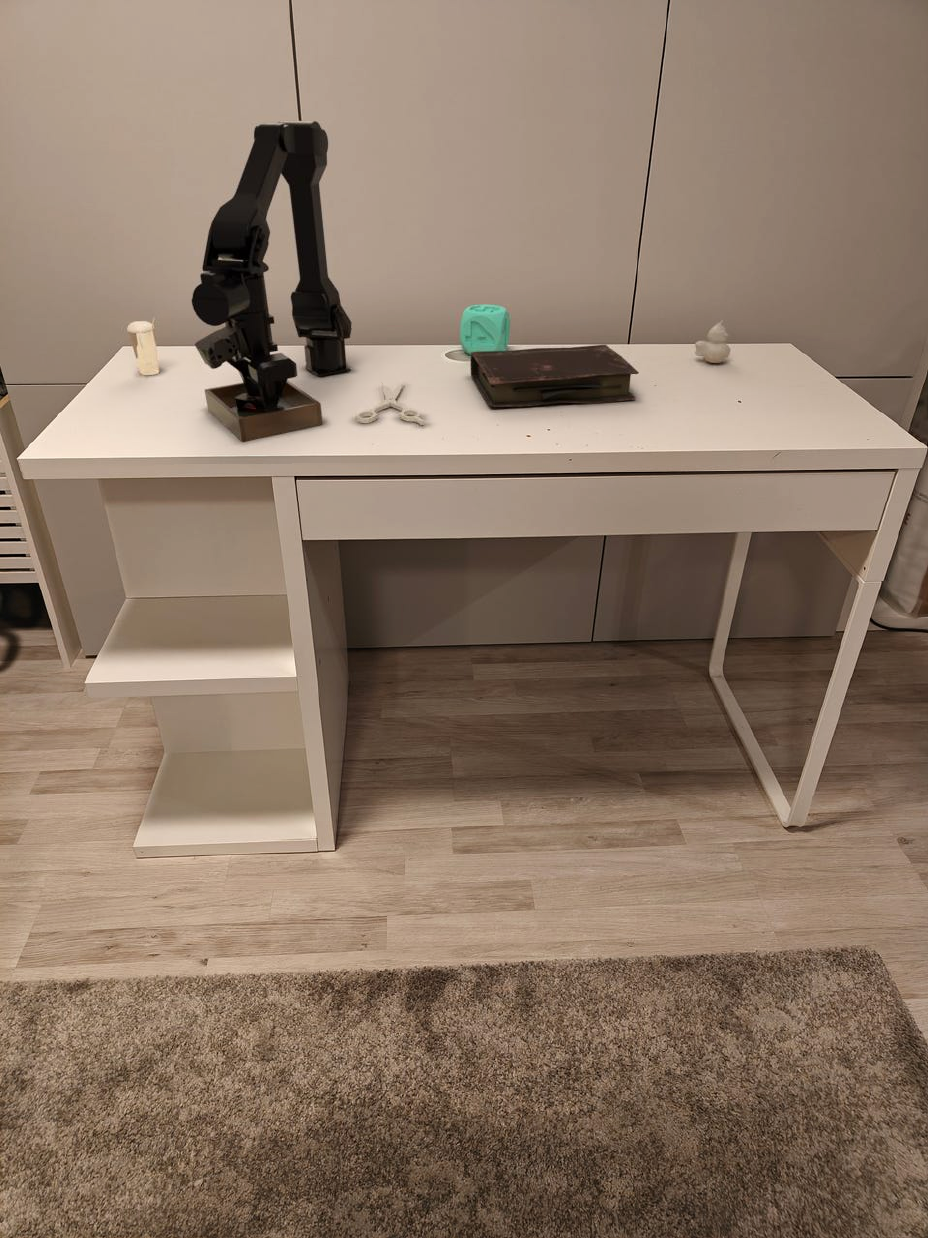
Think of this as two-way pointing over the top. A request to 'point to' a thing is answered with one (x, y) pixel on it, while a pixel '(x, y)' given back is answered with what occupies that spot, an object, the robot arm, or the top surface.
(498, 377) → the diary
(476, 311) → the decorative dice
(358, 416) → the scissors
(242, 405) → the black dial case
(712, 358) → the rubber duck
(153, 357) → the milkshake
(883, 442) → the top surface
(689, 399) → the top surface
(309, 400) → the desk tray
